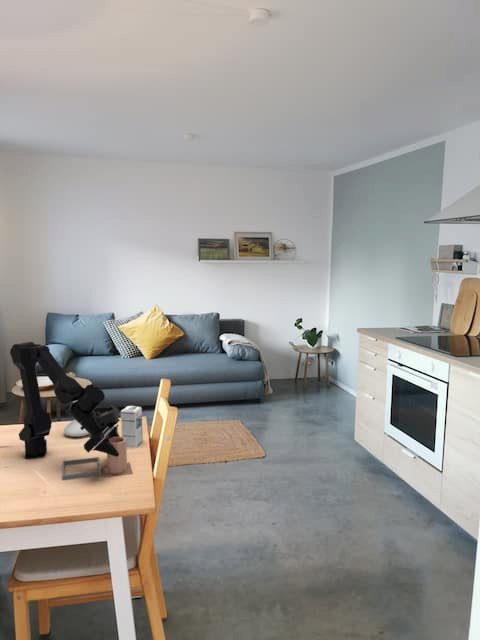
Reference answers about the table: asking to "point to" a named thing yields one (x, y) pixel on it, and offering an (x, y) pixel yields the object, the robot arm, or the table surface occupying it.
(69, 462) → the charcoal tray
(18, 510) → the table surface
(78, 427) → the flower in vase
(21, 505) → the table surface
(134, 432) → the syrup box
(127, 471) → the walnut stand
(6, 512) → the table surface
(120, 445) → the ring tube
